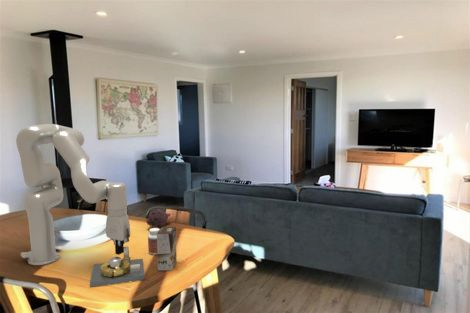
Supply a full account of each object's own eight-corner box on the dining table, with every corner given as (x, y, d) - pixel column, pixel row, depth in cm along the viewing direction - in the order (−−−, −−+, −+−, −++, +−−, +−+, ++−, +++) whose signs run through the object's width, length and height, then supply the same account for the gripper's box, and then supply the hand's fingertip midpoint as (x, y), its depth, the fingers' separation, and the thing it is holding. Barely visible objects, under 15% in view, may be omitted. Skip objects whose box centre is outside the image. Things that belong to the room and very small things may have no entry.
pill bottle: (162, 254, 166) (161, 231, 165) (148, 255, 165) (147, 232, 163) (161, 249, 172) (161, 226, 171) (148, 250, 171) (147, 227, 169)
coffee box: (172, 270, 150) (171, 233, 147) (157, 270, 150) (156, 233, 148) (177, 261, 159) (176, 226, 157) (162, 261, 159) (161, 226, 157)
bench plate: (90, 287, 137) (89, 269, 136) (93, 268, 152) (92, 252, 151) (144, 279, 142) (143, 263, 141) (142, 262, 157) (142, 247, 156)
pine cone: (153, 232, 194) (152, 214, 192) (140, 229, 199) (139, 212, 197) (174, 223, 209) (174, 206, 207) (161, 220, 214) (161, 204, 212)
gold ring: (120, 277, 139) (119, 262, 138) (95, 274, 141) (94, 259, 141) (139, 261, 153) (139, 247, 152) (116, 258, 156) (116, 245, 155)
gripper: (98, 211, 152) (100, 253, 155) (124, 217, 145) (126, 260, 148) (111, 207, 158) (113, 247, 161) (137, 212, 151) (139, 253, 154)
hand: (119, 253), depth 154 cm, fingers closed
